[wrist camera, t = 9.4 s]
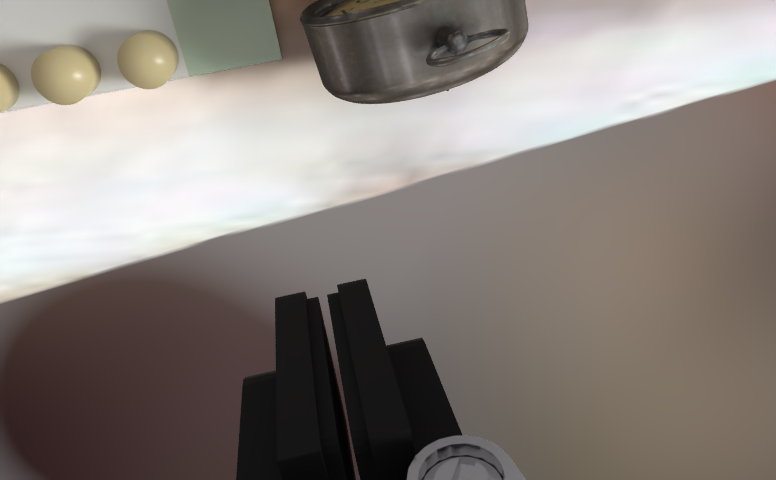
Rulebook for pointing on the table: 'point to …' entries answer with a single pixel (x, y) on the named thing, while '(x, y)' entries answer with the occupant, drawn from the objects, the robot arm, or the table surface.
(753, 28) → the table surface
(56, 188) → the table surface
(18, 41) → the spacer board
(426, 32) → the alarm clock
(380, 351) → the robot arm
